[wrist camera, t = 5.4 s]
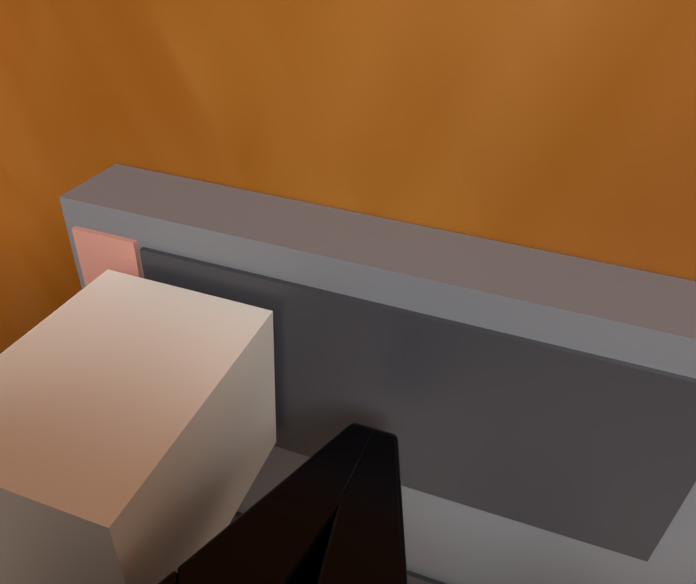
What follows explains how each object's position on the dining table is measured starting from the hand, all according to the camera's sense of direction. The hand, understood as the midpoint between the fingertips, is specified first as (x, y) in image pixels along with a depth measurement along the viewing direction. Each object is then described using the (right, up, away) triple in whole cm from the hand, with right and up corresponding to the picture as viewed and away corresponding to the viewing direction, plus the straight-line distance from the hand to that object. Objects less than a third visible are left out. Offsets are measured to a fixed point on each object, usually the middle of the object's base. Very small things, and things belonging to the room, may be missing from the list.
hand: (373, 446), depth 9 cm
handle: (-3, +1, +1) cm, 4 cm away
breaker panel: (+1, -4, +5) cm, 7 cm away
